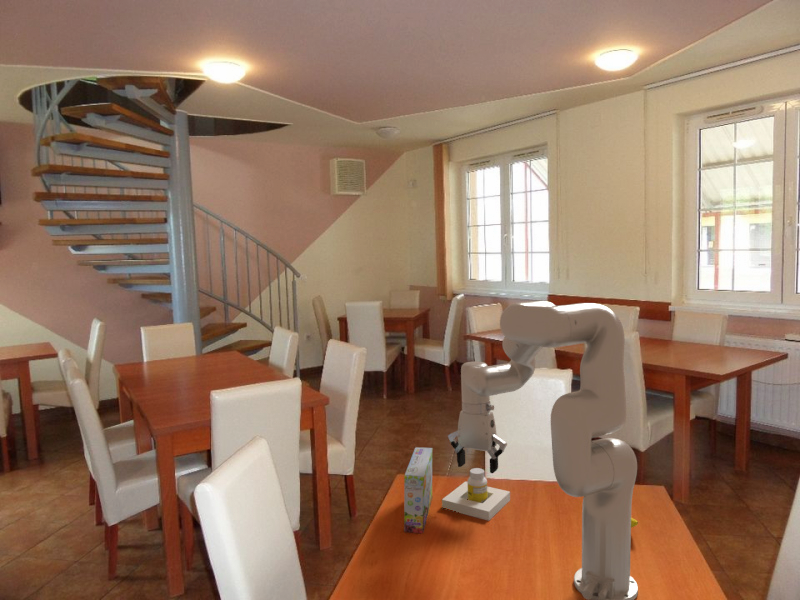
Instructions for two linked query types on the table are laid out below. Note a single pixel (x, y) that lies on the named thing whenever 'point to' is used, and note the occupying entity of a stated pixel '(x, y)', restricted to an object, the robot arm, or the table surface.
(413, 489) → the snack box
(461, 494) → the holder plate
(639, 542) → the table surface
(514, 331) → the robot arm
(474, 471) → the supplement bottle
